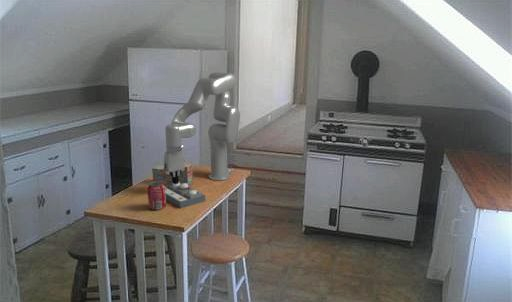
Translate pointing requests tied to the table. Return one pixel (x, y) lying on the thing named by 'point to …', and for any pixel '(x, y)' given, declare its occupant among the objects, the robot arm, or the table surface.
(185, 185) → the button middle
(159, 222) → the table surface
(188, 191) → the button
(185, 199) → the button board
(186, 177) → the stack of blocks
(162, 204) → the beverage can
